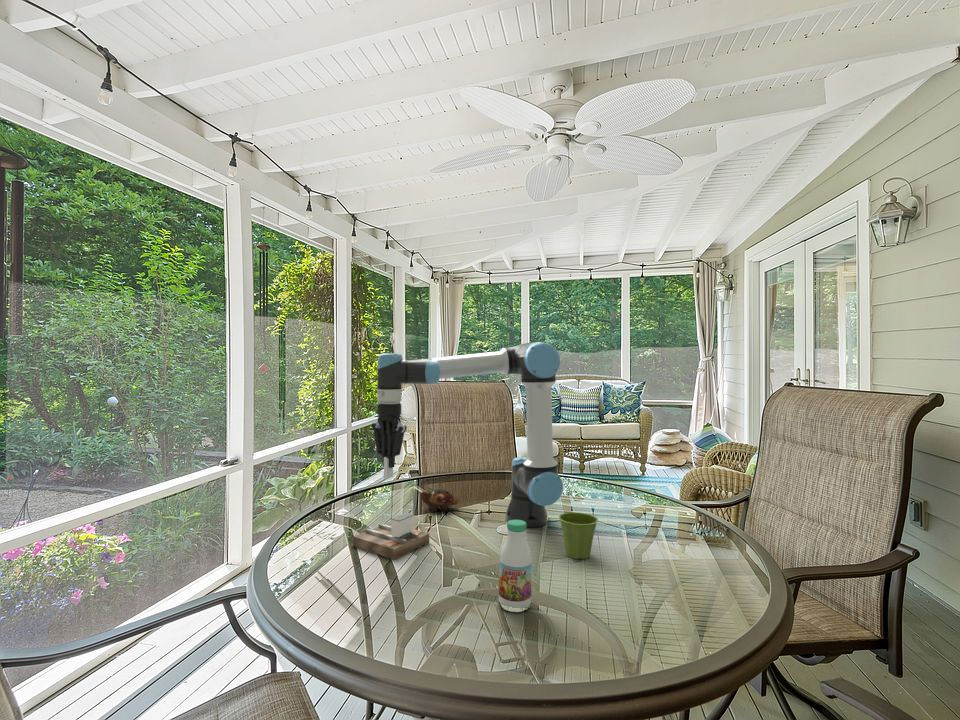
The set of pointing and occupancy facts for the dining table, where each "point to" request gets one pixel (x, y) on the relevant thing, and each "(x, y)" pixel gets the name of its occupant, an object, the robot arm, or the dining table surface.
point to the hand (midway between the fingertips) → (388, 477)
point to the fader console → (389, 541)
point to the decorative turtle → (438, 499)
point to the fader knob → (402, 525)
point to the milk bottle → (515, 567)
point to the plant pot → (578, 533)
